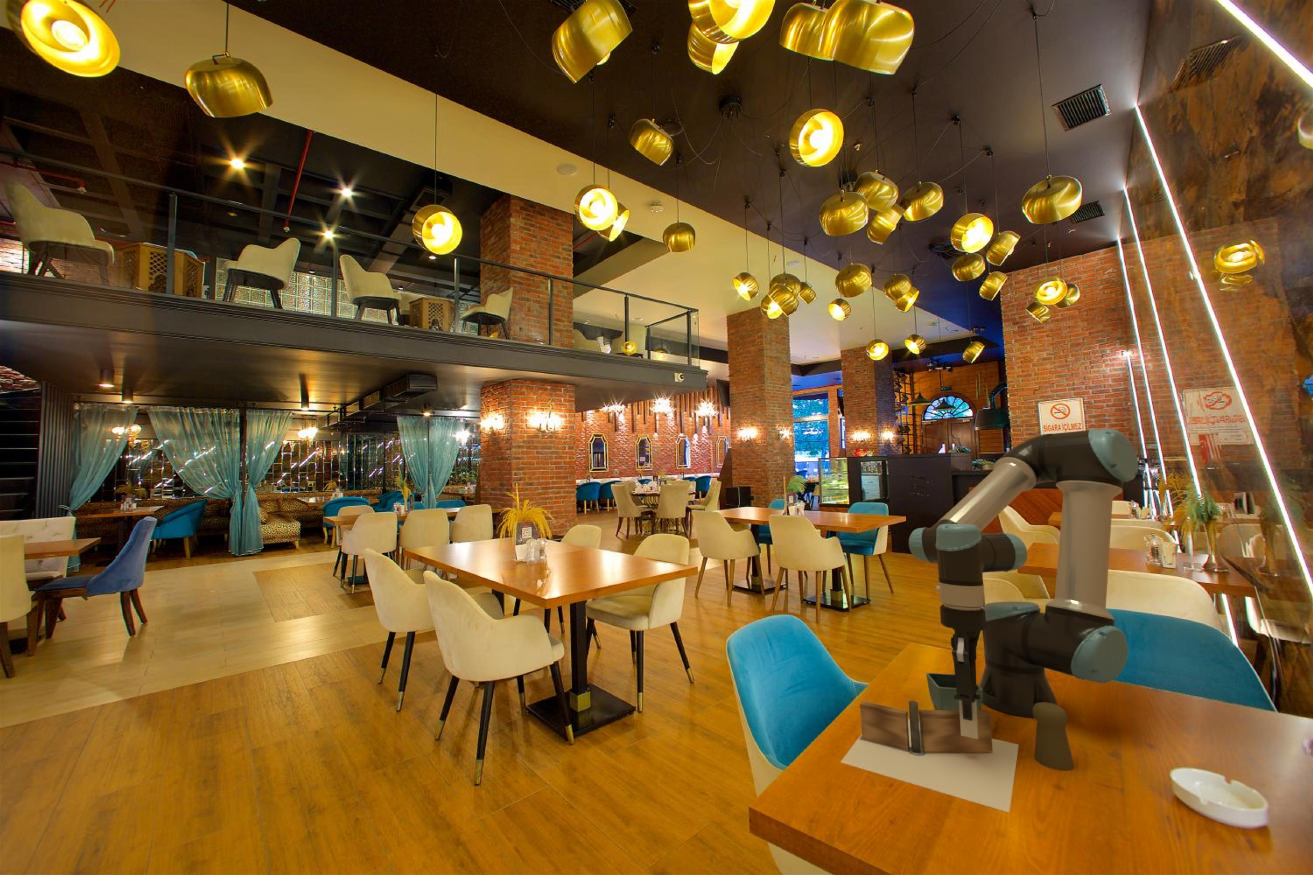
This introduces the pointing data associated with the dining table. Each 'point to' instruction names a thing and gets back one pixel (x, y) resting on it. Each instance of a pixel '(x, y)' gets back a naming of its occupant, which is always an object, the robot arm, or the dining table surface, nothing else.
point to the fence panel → (953, 732)
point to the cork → (1052, 737)
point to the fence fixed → (891, 725)
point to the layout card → (944, 769)
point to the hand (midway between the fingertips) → (969, 735)
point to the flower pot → (946, 691)
